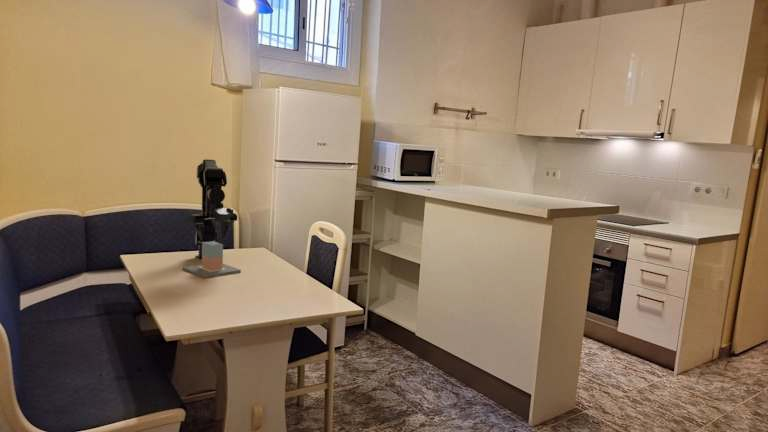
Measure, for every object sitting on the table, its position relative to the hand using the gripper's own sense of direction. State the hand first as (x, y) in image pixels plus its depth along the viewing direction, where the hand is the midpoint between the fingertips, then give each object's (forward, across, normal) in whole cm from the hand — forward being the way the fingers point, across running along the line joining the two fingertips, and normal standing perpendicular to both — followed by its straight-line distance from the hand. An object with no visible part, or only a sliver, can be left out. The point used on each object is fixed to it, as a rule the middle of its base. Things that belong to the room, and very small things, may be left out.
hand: (212, 239), depth 202 cm
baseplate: (+13, 0, 0) cm, 13 cm away
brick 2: (+12, 0, 0) cm, 12 cm away
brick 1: (+7, 0, 0) cm, 7 cm away
